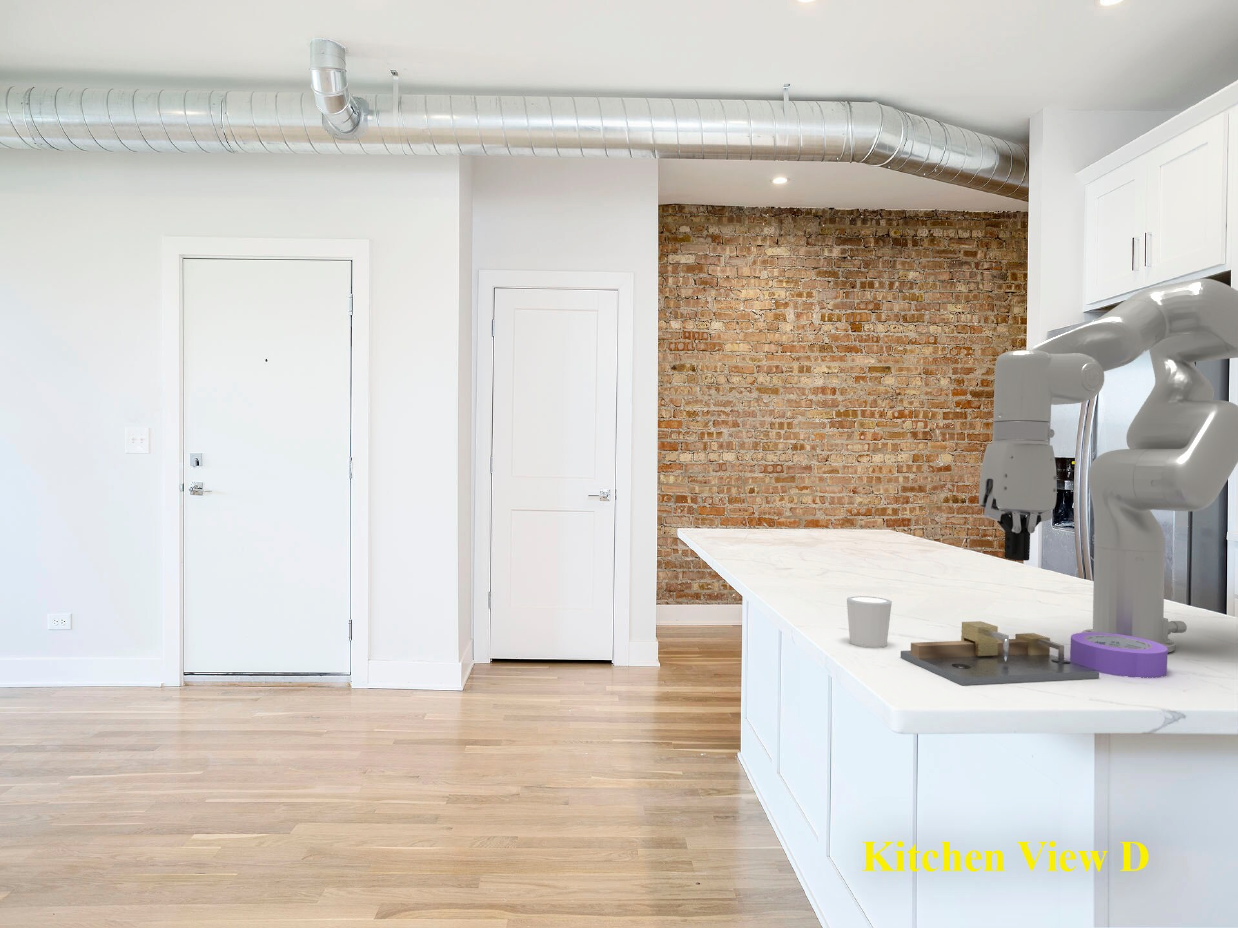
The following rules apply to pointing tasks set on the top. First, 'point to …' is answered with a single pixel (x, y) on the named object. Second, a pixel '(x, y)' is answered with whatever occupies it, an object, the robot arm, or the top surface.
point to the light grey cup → (868, 621)
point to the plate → (1003, 668)
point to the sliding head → (985, 638)
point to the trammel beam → (1019, 645)
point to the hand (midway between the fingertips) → (1016, 559)
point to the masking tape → (1119, 654)
